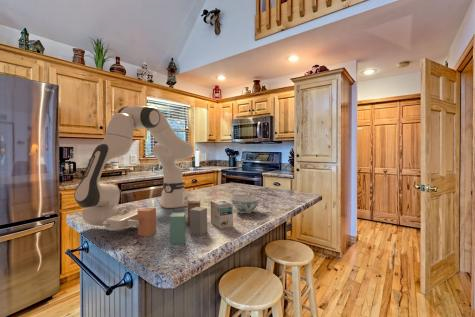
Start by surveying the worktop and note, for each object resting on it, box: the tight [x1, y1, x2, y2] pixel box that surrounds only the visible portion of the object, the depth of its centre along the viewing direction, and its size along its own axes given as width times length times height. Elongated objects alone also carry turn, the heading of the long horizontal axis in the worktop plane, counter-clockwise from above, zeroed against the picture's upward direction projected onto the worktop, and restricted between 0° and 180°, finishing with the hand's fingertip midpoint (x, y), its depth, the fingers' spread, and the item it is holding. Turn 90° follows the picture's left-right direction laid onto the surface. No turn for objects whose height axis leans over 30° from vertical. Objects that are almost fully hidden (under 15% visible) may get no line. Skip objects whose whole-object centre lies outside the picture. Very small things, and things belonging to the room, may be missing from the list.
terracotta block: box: [137, 206, 157, 237], centre depth 96 cm, size 5×5×10 cm
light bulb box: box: [210, 198, 234, 230], centre depth 107 cm, size 11×7×11 cm, turn 30°
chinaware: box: [231, 195, 260, 214], centre depth 128 cm, size 15×15×8 cm
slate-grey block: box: [189, 206, 208, 237], centre depth 97 cm, size 5×5×10 cm
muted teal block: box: [169, 212, 187, 245], centre depth 88 cm, size 5×5×10 cm
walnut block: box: [187, 200, 201, 226], centre depth 109 cm, size 5×5×10 cm
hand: (147, 218), depth 96 cm, fingers open, 8 cm apart
